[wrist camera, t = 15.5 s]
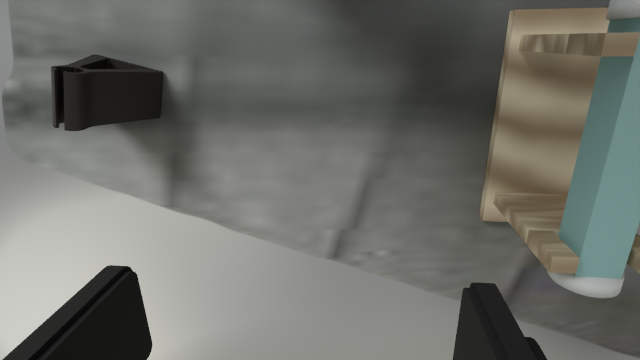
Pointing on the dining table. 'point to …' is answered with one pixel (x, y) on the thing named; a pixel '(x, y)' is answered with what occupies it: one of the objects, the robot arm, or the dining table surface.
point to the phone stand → (104, 93)
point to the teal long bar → (606, 171)
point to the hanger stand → (546, 123)
